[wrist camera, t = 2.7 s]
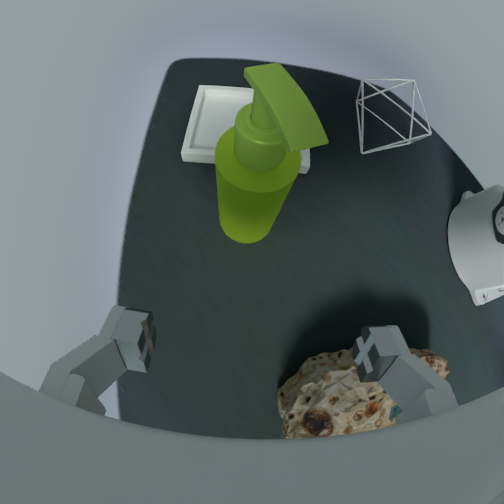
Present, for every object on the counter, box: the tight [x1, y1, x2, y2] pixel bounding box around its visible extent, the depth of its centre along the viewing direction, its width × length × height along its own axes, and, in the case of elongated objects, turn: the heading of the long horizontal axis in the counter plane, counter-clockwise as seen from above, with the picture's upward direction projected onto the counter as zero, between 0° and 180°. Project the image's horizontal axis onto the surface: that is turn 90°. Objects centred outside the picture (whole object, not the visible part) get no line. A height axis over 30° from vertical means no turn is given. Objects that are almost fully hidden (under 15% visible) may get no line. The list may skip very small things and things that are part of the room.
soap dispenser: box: [215, 63, 329, 243], centre depth 20 cm, size 6×7×20 cm
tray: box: [181, 85, 310, 174], centre depth 32 cm, size 15×12×2 cm
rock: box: [277, 348, 449, 439], centre depth 24 cm, size 21×14×10 cm
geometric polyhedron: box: [356, 78, 432, 154], centre depth 31 cm, size 12×11×9 cm
